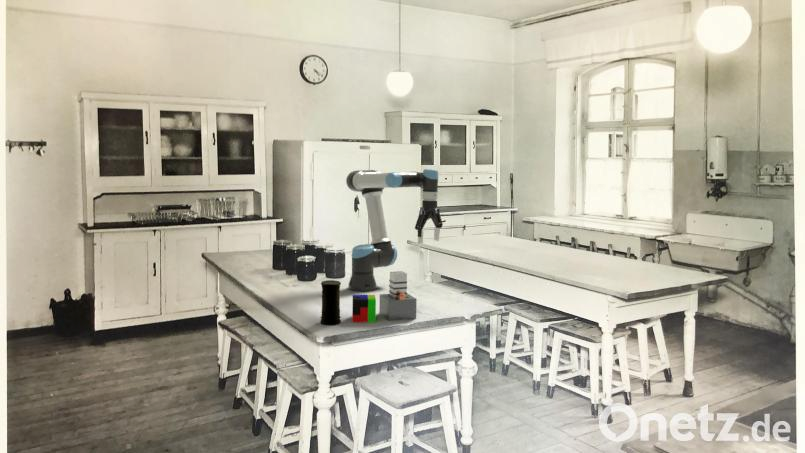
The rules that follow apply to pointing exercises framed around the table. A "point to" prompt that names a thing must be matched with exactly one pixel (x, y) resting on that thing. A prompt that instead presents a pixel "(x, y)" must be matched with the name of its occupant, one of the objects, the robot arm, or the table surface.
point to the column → (397, 284)
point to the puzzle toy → (364, 308)
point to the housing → (398, 307)
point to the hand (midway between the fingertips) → (428, 241)
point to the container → (330, 302)
